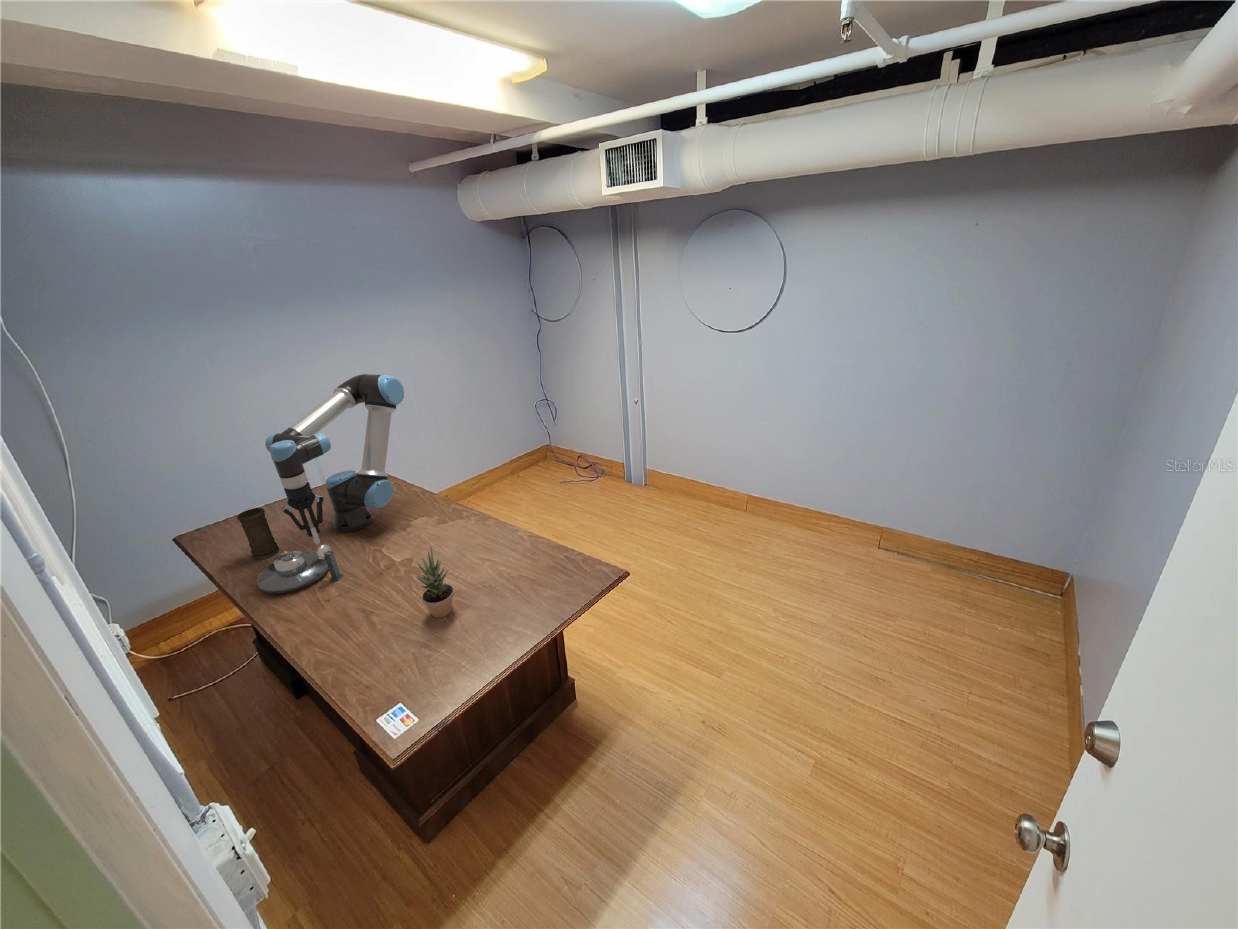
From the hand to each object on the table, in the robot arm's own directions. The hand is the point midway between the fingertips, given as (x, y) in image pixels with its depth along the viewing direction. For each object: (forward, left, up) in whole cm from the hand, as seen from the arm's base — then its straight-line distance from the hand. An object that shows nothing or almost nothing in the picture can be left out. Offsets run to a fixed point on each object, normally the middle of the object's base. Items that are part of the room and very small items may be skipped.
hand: (317, 542), depth 180 cm
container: (+14, -27, -10) cm, 32 cm away
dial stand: (0, +12, -10) cm, 16 cm away
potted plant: (-18, +57, -10) cm, 61 cm away
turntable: (+10, 0, -9) cm, 13 cm away
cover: (+10, 0, -7) cm, 12 cm away
